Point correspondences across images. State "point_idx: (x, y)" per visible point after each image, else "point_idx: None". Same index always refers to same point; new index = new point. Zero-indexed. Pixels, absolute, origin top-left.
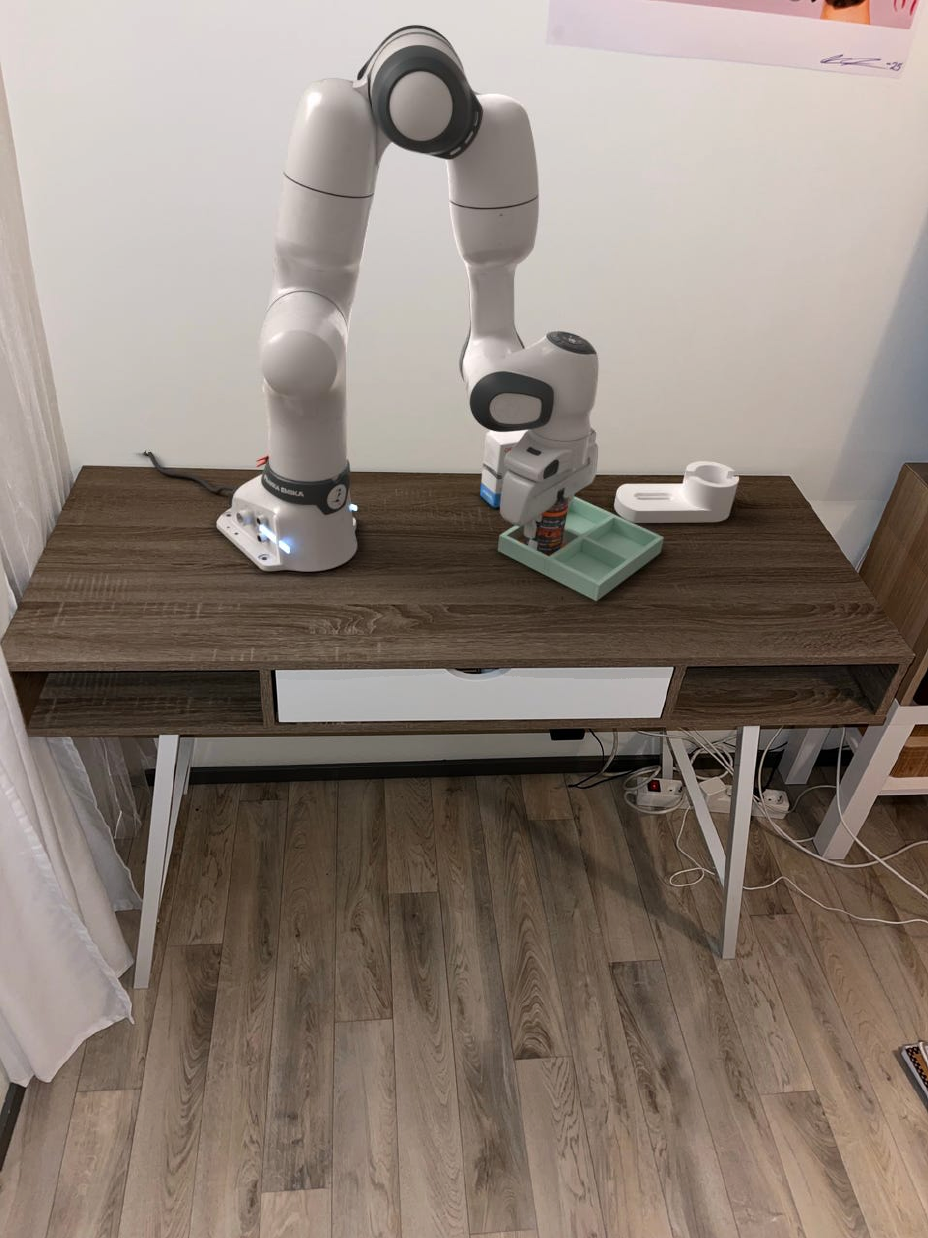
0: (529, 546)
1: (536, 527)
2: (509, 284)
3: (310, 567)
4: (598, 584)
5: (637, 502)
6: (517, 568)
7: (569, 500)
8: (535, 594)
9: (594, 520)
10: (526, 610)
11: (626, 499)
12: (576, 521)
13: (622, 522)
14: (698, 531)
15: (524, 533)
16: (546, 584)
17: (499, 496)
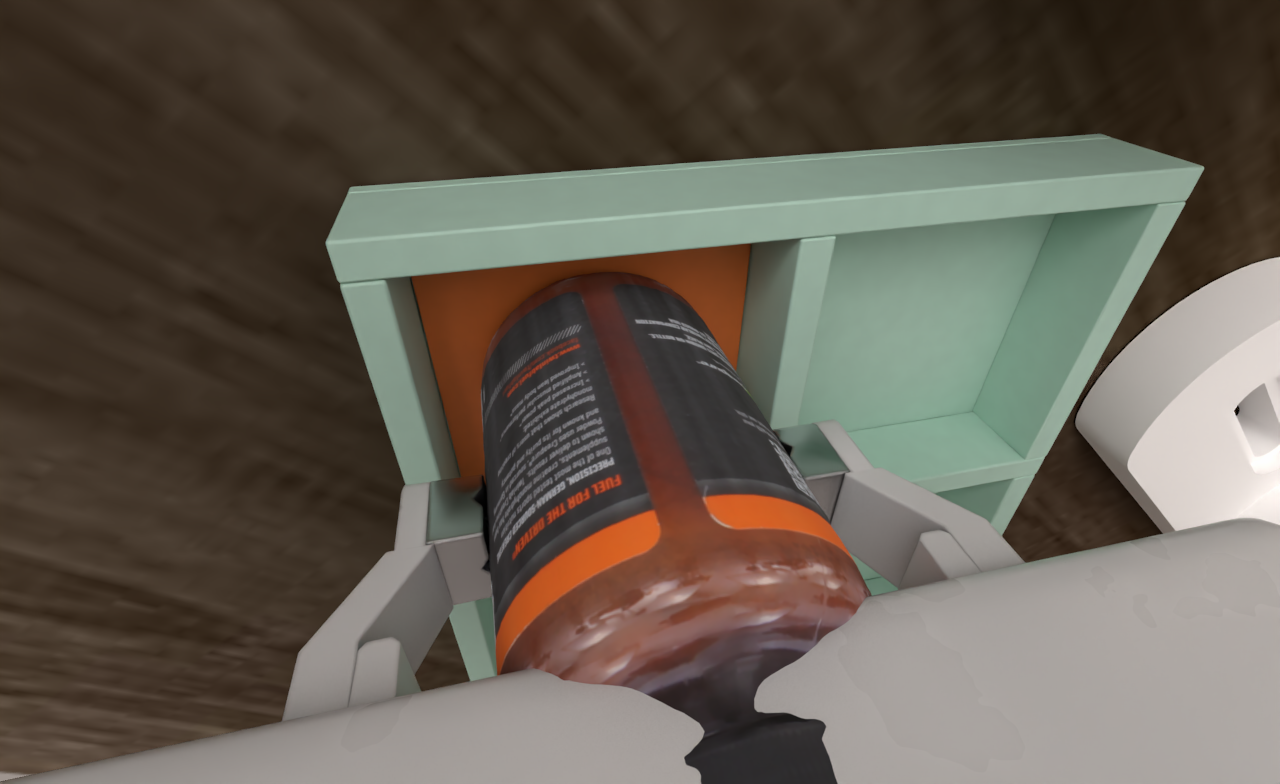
0: (481, 403)
1: (447, 614)
2: None
3: None
4: None
5: (1201, 425)
6: (342, 392)
7: (896, 579)
8: (278, 565)
9: (1006, 353)
10: (148, 620)
11: (1219, 385)
12: (969, 289)
13: (991, 509)
14: (1092, 545)
15: (403, 494)
16: (388, 538)
17: None
